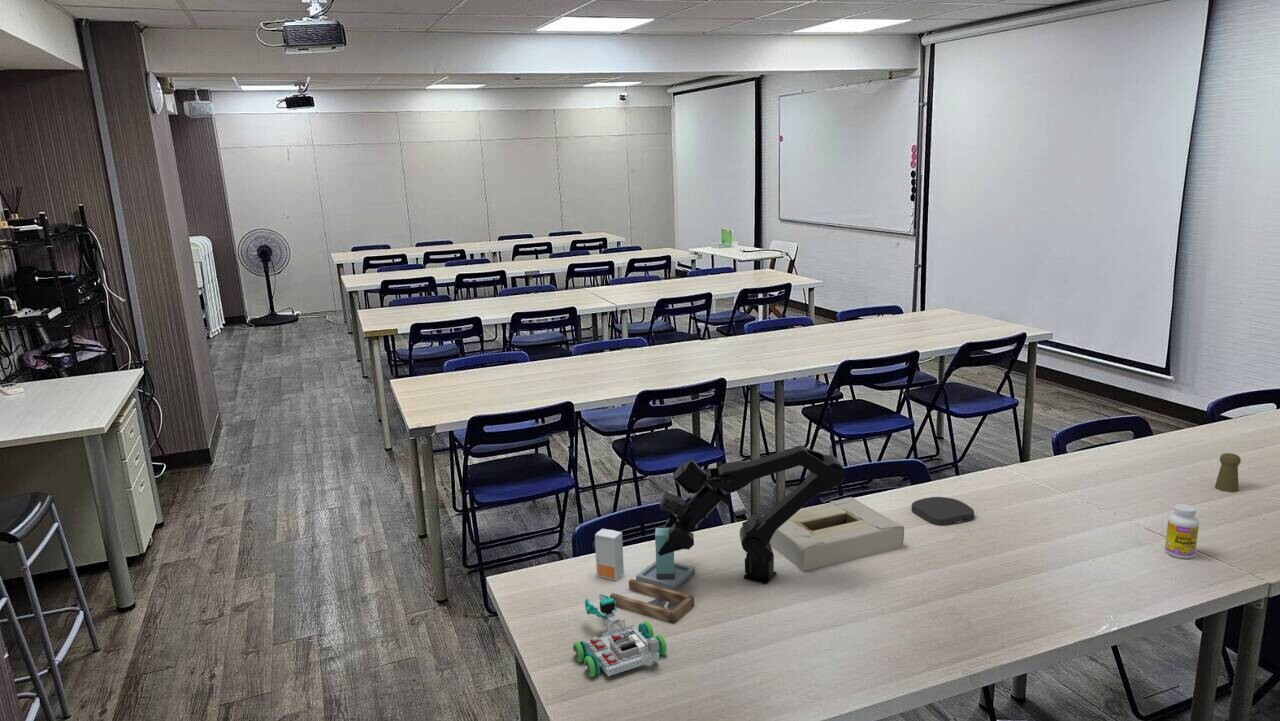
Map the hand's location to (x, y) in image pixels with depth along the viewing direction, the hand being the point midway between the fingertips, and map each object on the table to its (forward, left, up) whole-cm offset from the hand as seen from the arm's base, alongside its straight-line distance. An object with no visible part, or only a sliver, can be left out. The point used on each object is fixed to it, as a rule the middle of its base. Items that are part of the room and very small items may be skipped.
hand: (659, 546), depth 213 cm
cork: (-122, -133, -9) cm, 181 cm away
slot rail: (-5, +12, -9) cm, 16 cm away
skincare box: (+12, +5, -9) cm, 16 cm away
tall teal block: (-1, -1, -8) cm, 8 cm away
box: (-30, -40, -10) cm, 51 cm away
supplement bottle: (-111, -76, -9) cm, 135 cm away
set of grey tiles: (-9, +12, -9) cm, 18 cm away
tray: (-1, -1, -9) cm, 9 cm away
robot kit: (-7, +32, -10) cm, 34 cm away
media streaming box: (-52, -74, -10) cm, 91 cm away
